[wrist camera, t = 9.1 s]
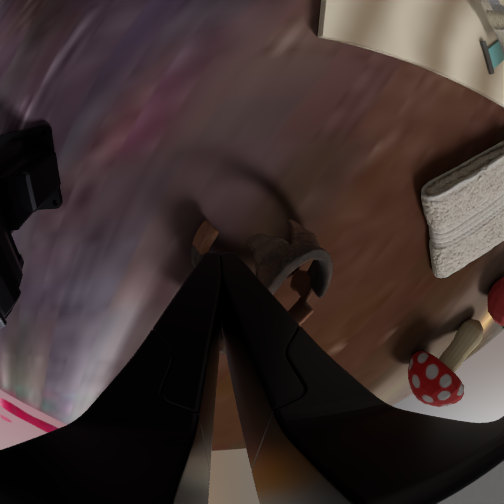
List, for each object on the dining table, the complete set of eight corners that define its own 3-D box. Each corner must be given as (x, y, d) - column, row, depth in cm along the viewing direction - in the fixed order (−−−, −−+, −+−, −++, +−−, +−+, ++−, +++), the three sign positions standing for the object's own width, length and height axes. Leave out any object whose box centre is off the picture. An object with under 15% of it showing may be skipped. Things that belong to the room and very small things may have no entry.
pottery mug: (207, 179, 21) (288, 227, 16) (287, 207, 28) (359, 249, 23) (154, 316, 24) (205, 389, 19) (235, 314, 31) (289, 367, 26)
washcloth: (525, 206, 26) (540, 218, 23) (427, 273, 30) (441, 291, 27) (524, 122, 19) (544, 132, 17) (411, 186, 23) (431, 202, 20)
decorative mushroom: (514, 341, 28) (451, 428, 28) (483, 345, 38) (429, 413, 38) (469, 292, 33) (401, 379, 32) (444, 305, 43) (388, 373, 42)
